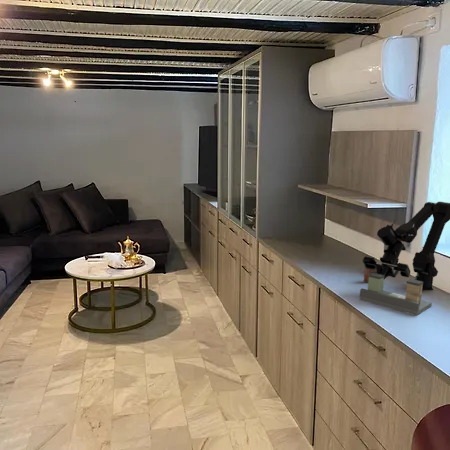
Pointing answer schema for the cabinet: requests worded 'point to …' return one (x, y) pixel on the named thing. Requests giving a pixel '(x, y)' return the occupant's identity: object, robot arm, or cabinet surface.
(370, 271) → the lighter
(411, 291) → the beech block
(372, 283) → the sage block
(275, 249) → the cabinet surface
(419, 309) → the switch board
